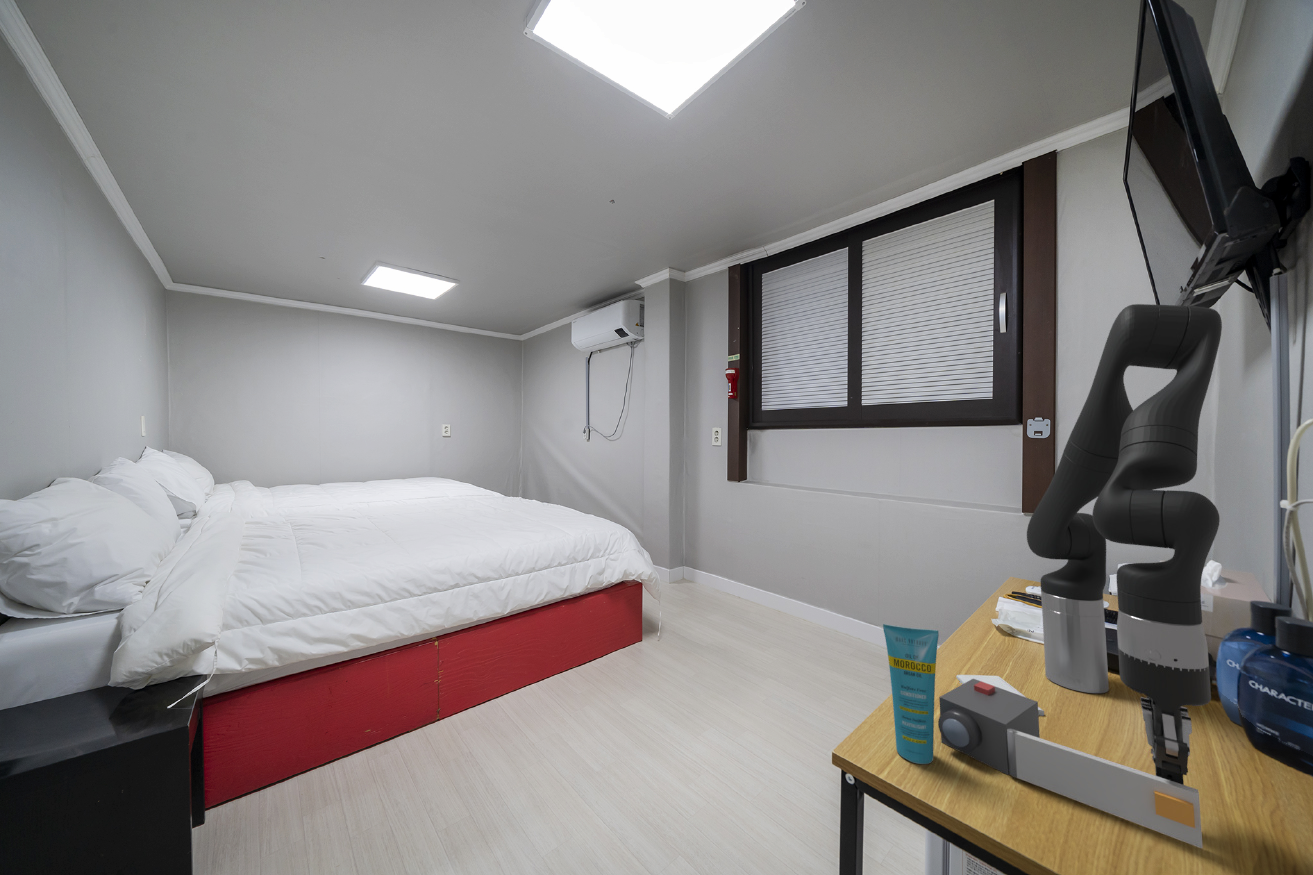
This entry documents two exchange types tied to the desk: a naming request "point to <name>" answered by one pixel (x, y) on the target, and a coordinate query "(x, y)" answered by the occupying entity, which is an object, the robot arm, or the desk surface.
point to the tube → (913, 689)
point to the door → (1107, 786)
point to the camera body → (985, 721)
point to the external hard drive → (995, 682)
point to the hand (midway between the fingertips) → (1170, 795)
